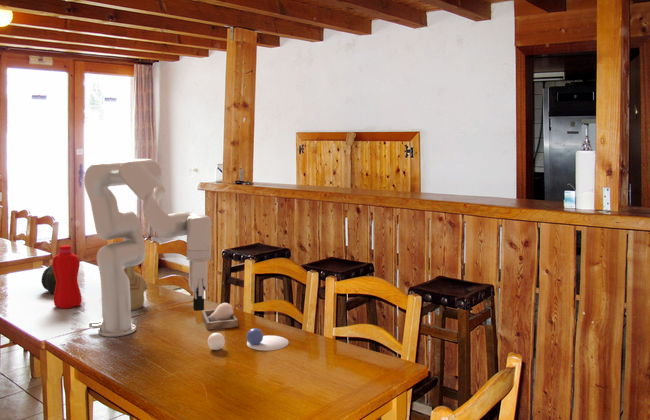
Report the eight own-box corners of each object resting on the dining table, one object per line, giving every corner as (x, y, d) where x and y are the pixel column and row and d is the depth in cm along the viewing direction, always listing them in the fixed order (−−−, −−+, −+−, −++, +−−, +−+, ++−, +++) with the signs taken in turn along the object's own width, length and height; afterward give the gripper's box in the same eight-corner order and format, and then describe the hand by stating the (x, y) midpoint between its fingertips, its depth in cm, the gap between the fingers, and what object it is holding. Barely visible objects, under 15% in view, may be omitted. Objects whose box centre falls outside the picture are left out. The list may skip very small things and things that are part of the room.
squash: (30, 284, 252) (54, 257, 254) (39, 277, 267) (62, 252, 268) (58, 304, 255) (81, 278, 257) (65, 296, 270) (87, 271, 271)
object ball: (261, 328, 194) (267, 342, 195) (257, 323, 199) (263, 337, 200) (245, 335, 192) (252, 350, 194) (242, 330, 198) (248, 344, 199)
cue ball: (221, 334, 189) (227, 348, 190) (220, 327, 194) (226, 341, 195) (205, 341, 188) (211, 355, 189) (204, 333, 193) (210, 347, 195)
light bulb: (208, 313, 214) (232, 299, 220) (200, 312, 219) (224, 299, 226) (215, 329, 215) (239, 315, 221) (206, 328, 220) (230, 314, 227)
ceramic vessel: (141, 298, 251) (139, 240, 248) (154, 310, 234) (151, 248, 231) (99, 304, 242) (96, 244, 239) (109, 317, 226) (106, 252, 222)
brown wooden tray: (207, 329, 211) (207, 323, 211) (201, 316, 226) (201, 310, 226) (237, 326, 215) (237, 320, 214) (230, 314, 230) (230, 307, 229)
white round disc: (251, 352, 189) (251, 352, 189) (243, 338, 202) (243, 337, 202) (293, 347, 194) (293, 347, 194) (282, 334, 207) (282, 333, 207)
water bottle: (69, 300, 247) (66, 242, 244) (84, 305, 241) (82, 245, 238) (48, 305, 240) (45, 245, 237) (63, 310, 234) (60, 248, 230)
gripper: (184, 249, 193) (184, 303, 196) (189, 259, 179) (189, 318, 181) (207, 248, 195) (207, 302, 198) (214, 258, 181) (213, 316, 184)
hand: (198, 309), depth 190 cm, fingers closed
